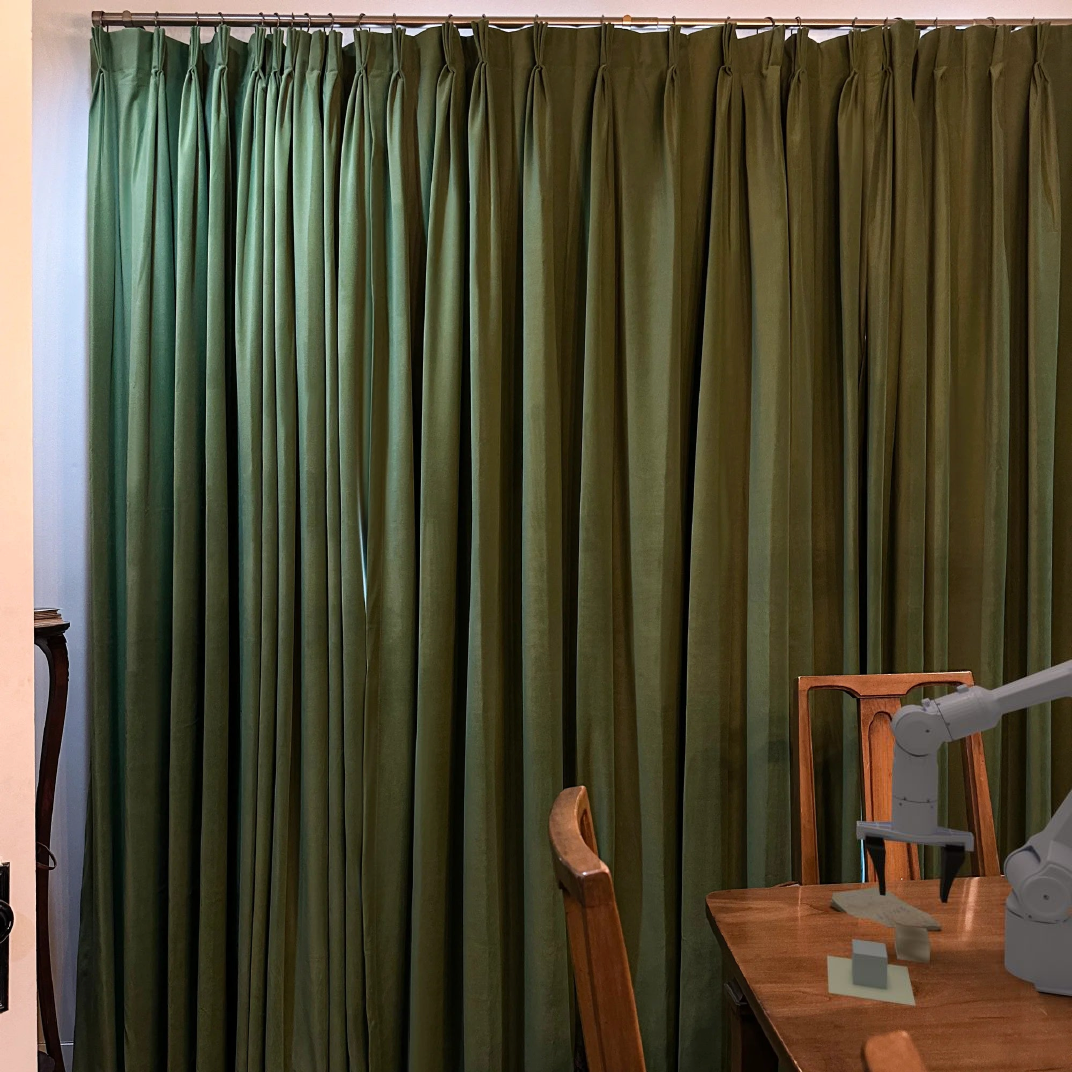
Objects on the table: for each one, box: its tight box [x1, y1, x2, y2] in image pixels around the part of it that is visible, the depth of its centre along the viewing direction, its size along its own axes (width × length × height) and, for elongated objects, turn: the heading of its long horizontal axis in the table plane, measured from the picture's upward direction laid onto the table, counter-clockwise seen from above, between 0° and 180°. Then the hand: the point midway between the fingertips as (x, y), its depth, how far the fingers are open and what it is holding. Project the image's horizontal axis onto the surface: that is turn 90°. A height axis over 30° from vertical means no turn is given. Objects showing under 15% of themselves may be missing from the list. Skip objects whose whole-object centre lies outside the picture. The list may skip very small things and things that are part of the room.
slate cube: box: [851, 938, 889, 989], centre depth 116 cm, size 4×4×4 cm
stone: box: [829, 886, 942, 932], centre depth 136 cm, size 15×11×3 cm
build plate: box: [826, 955, 916, 1007], centre depth 116 cm, size 10×10×1 cm
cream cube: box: [894, 925, 931, 964], centre depth 123 cm, size 4×4×4 cm
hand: (912, 896), depth 123 cm, fingers open, 7 cm apart
